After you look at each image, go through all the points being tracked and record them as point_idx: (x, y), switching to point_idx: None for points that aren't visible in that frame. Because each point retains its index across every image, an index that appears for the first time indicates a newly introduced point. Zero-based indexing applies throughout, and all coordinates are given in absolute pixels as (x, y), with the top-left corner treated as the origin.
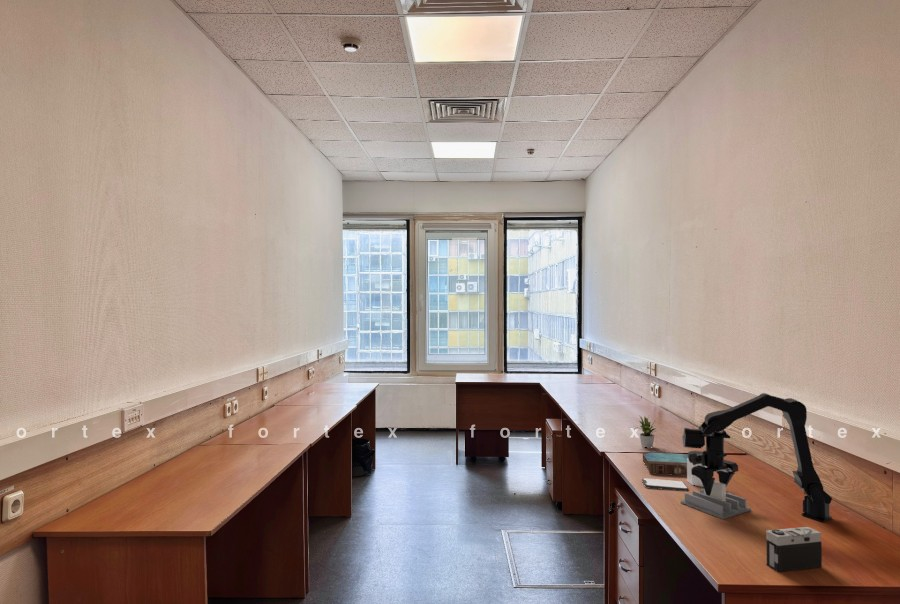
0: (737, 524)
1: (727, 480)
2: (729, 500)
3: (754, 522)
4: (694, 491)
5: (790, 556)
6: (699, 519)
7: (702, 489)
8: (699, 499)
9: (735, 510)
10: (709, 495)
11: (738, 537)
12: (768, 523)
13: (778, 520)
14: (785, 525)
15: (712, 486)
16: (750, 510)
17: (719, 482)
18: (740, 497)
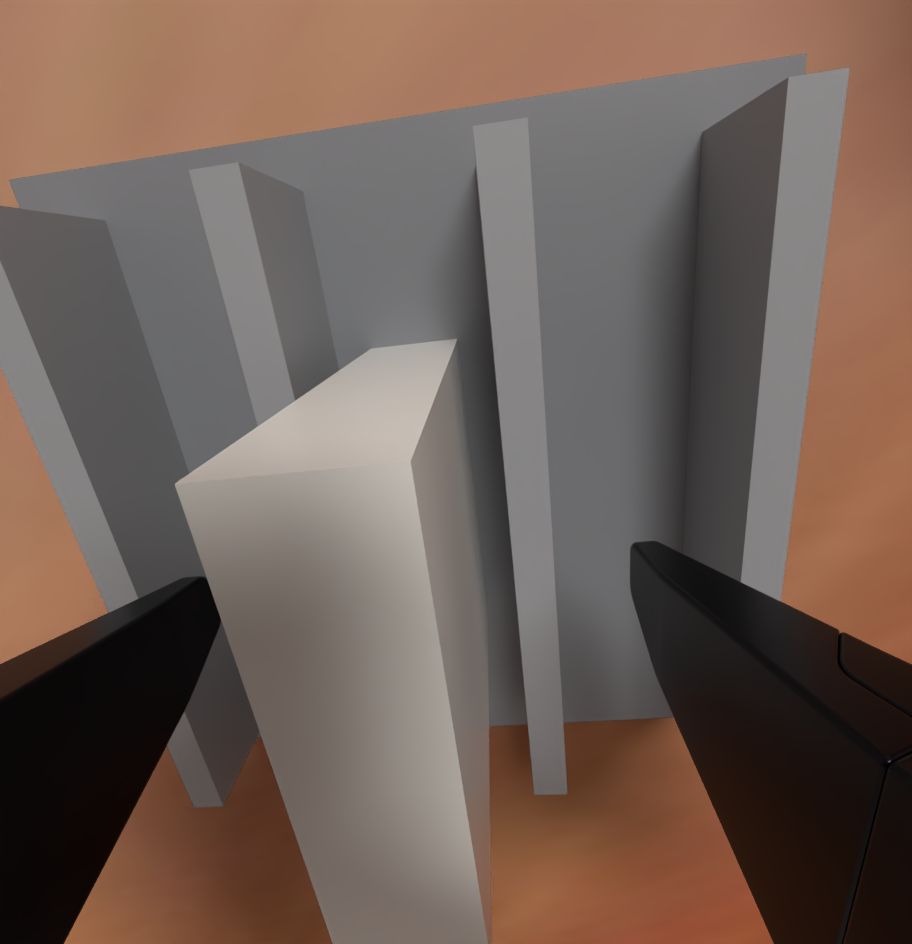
0: (285, 810)
1: (781, 939)
2: (524, 689)
3: None
4: (210, 214)
5: None
6: (4, 638)
7: (489, 183)
8: (85, 518)
9: (504, 691)
10: (211, 623)
11: (116, 910)
12: (557, 881)
13: (701, 882)
14: (644, 935)
15: (82, 881)
16: None
17: (460, 855)
18: None
